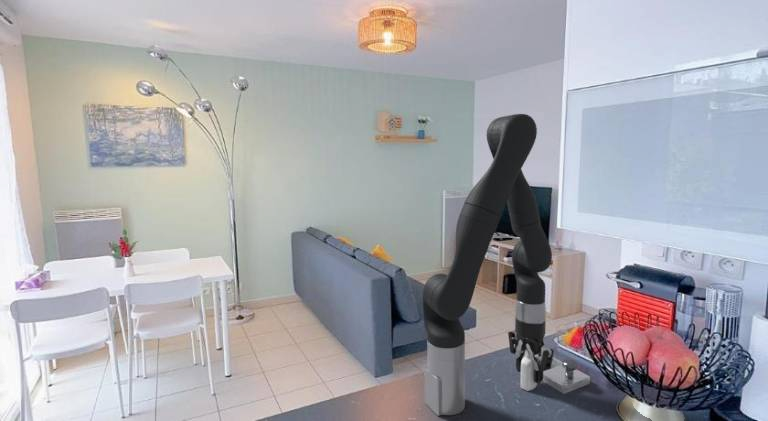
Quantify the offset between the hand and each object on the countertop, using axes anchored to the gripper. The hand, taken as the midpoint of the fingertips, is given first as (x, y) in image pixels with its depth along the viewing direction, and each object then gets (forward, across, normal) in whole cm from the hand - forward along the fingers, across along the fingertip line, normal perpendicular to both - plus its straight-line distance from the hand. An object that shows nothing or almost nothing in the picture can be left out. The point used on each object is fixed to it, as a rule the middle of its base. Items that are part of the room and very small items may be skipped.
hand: (529, 376), depth 109 cm
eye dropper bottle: (+3, 0, 0) cm, 3 cm away
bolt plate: (+3, -1, +10) cm, 10 cm away
